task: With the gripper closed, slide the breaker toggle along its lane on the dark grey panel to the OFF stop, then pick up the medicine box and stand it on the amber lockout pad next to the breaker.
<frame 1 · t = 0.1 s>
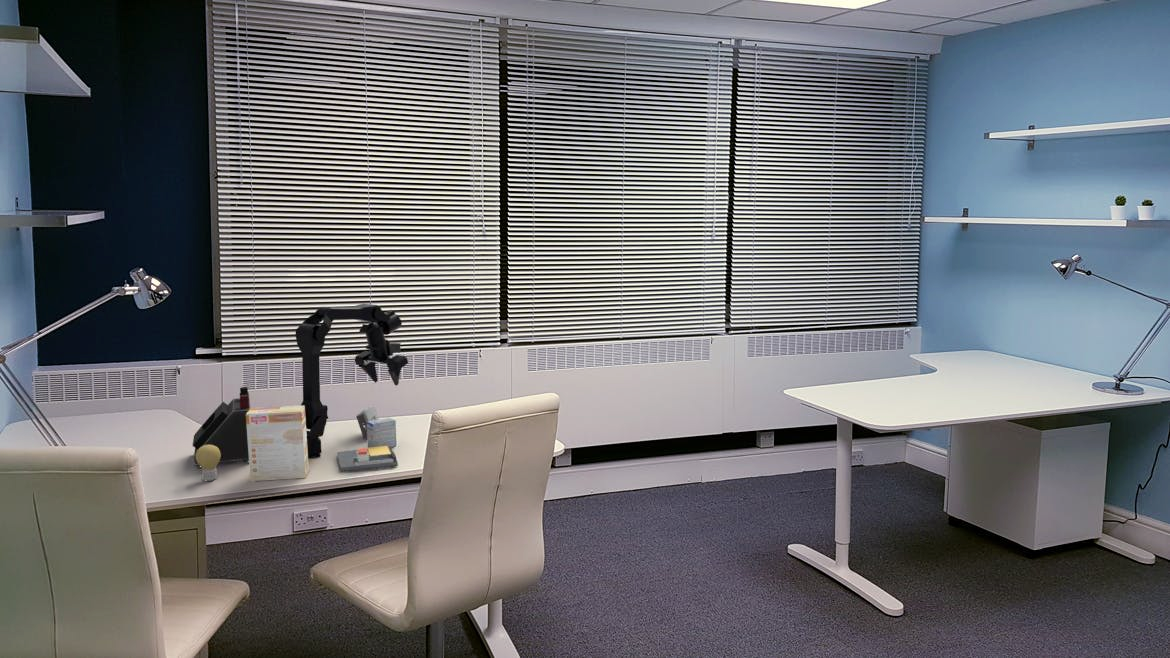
hand: (386, 383, 302), 15 cm above the table, tool pointing down, fingers open, 9 cm apart
breaker toggle: (362, 456, 263), point 3 cm above the table, slide at 0.0 cm
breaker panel: (366, 461, 269), on the table
coffeecake box: (280, 476, 256), on the table
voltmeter: (224, 459, 273), on the table
lockout pad: (379, 457, 273), resting on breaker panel
medicine box: (382, 448, 283), on the table
electrical switch: (370, 436, 297), on the table
light bulb: (210, 480, 253), on the table
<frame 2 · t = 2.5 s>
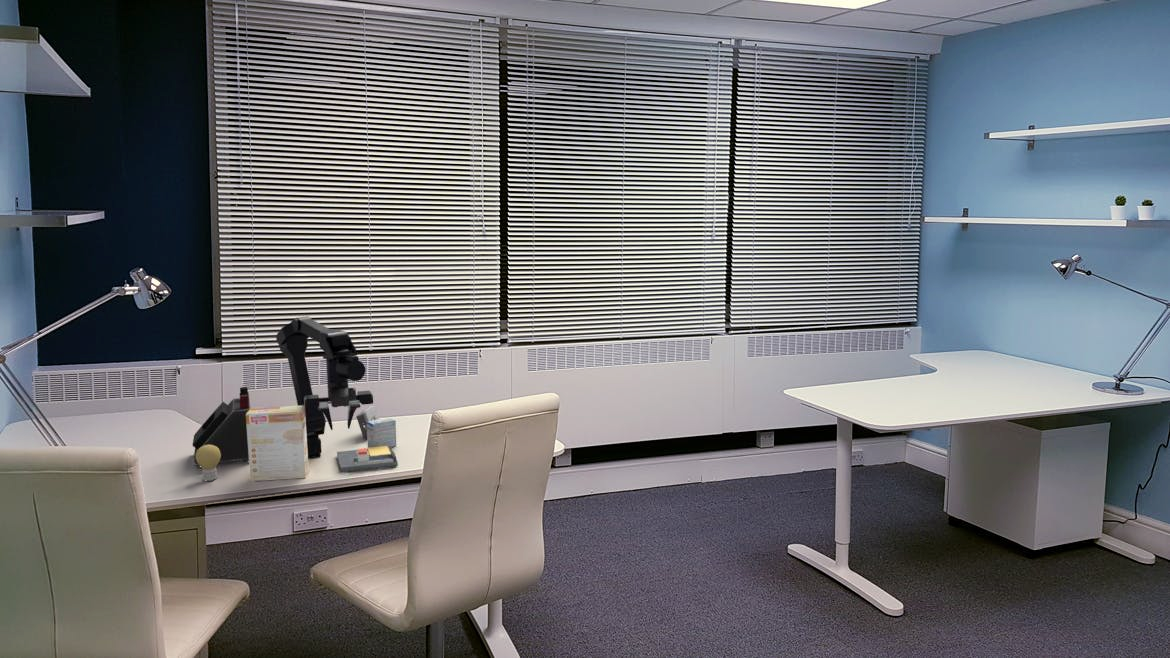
hand: (340, 429, 260), 12 cm above the table, tool pointing down, fingers open, 4 cm apart
nothing on the table moved.
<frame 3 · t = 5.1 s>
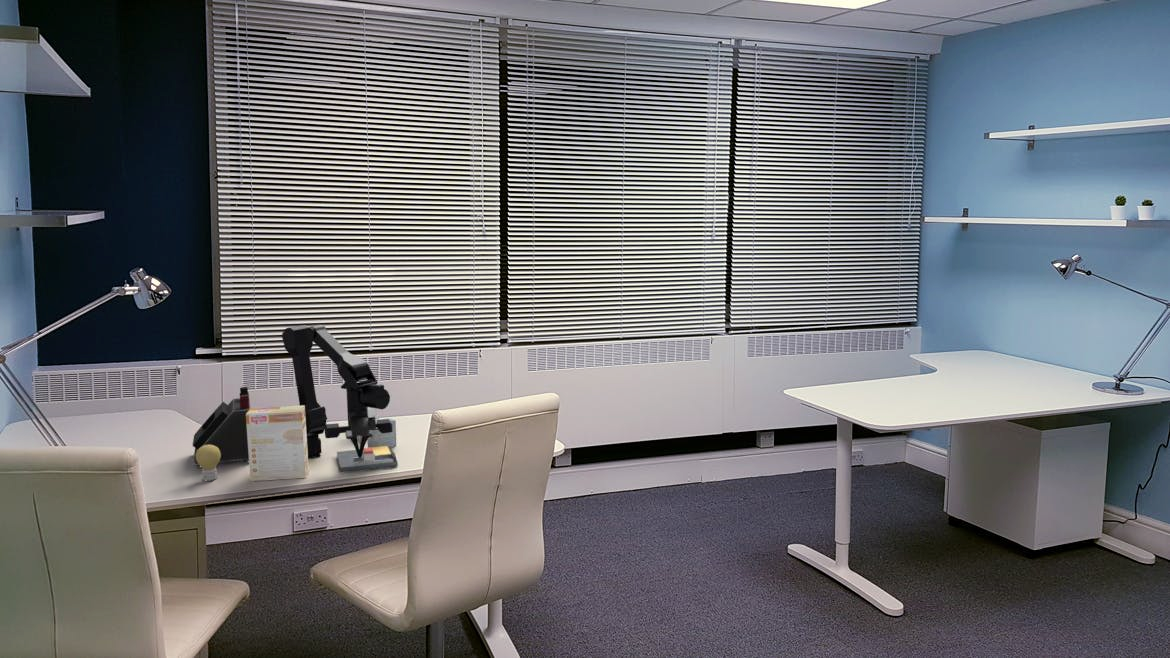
hand: (359, 457, 263), 3 cm above the table, tool pointing down, fingers closed
breaker toggle: (368, 455, 264), point 3 cm above the table, slide at 1.7 cm, touching gripper
everything else where it was.
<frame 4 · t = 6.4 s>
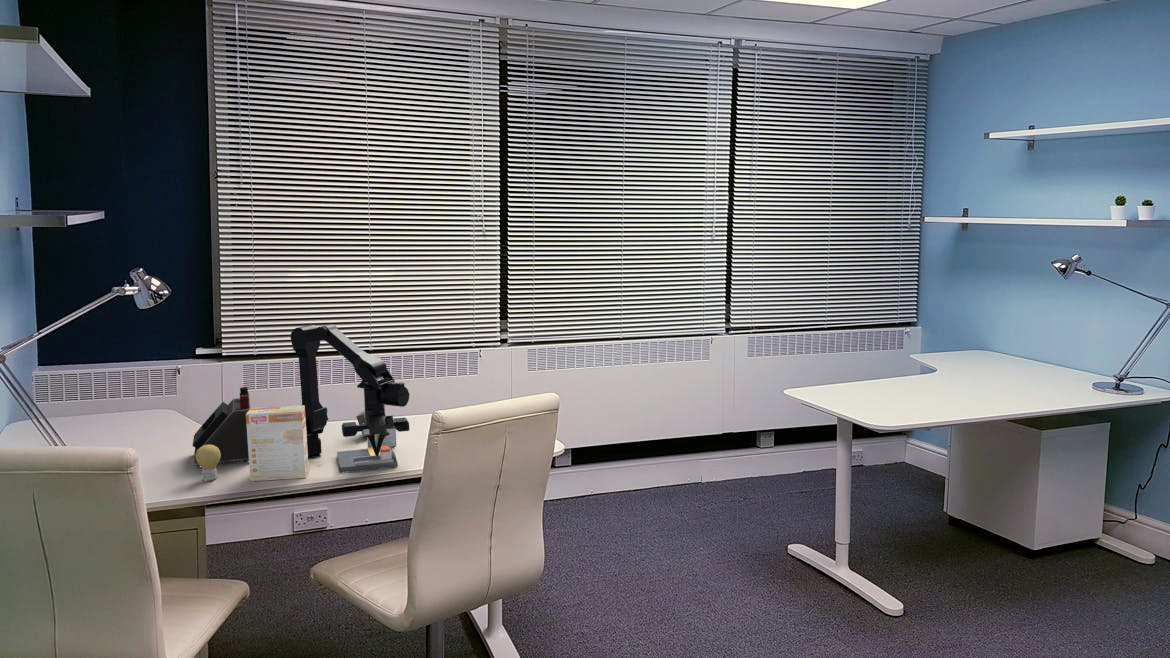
hand: (376, 455, 265), 3 cm above the table, tool pointing down, fingers closed
breaker toggle: (385, 453, 266), point 3 cm above the table, slide at 6.5 cm, touching gripper
everything else where it was.
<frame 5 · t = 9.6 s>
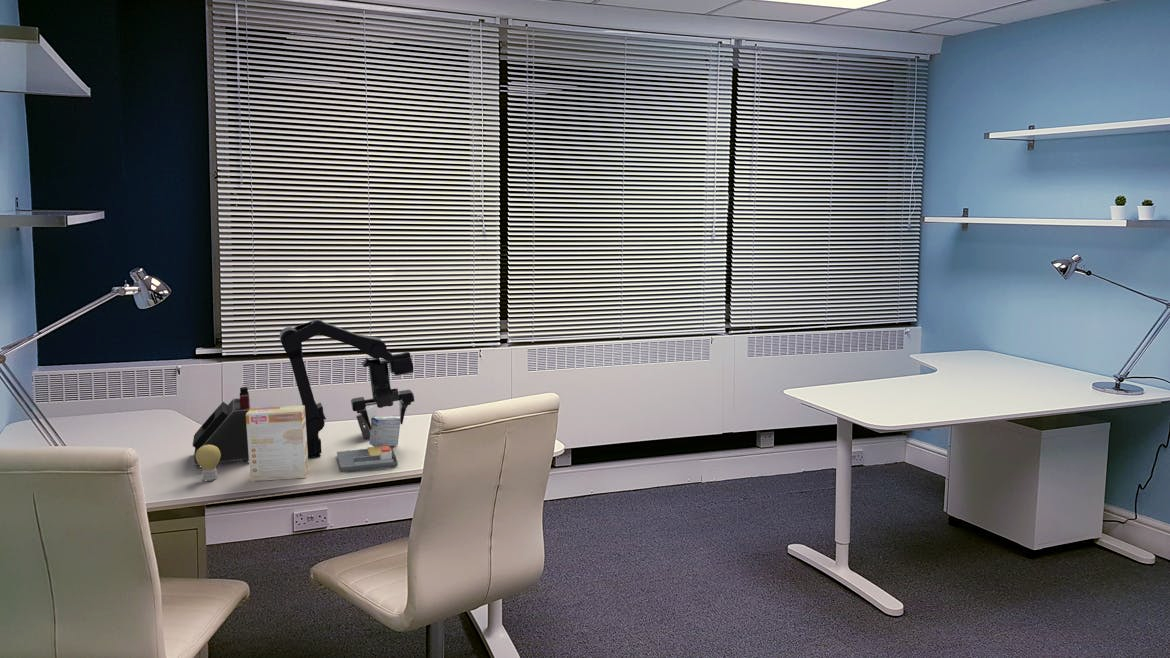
hand: (385, 426, 283), 6 cm above the table, tool pointing down, fingers closed on medicine box, 9 cm apart
breaker toggle: (385, 453, 266), point 3 cm above the table, slide at 6.5 cm
medicine box: (383, 445, 283), on the table, touching gripper
everything else where it was.
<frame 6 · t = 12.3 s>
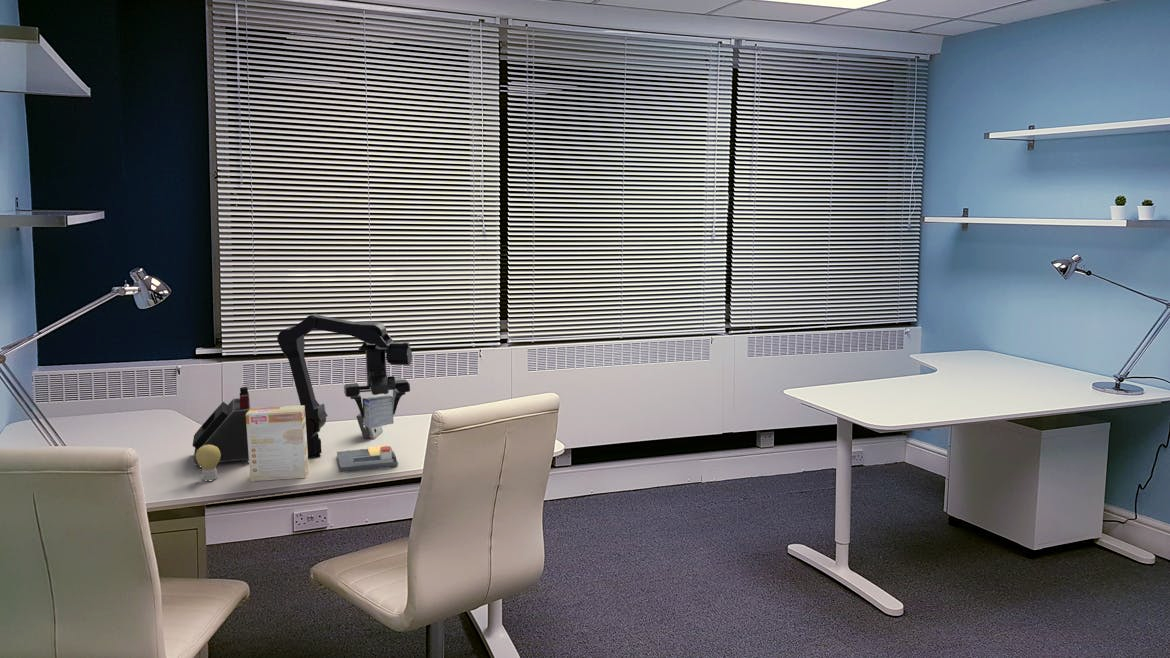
hand: (378, 415, 272), 12 cm above the table, tool pointing down, fingers closed on medicine box, 9 cm apart
medicine box: (378, 425, 273), point 9 cm above the table, touching gripper
everything else where it was.
when the fingers open (5 cm above the table, at t = 14.4 s): medicine box stays where it is, resting on lockout pad.
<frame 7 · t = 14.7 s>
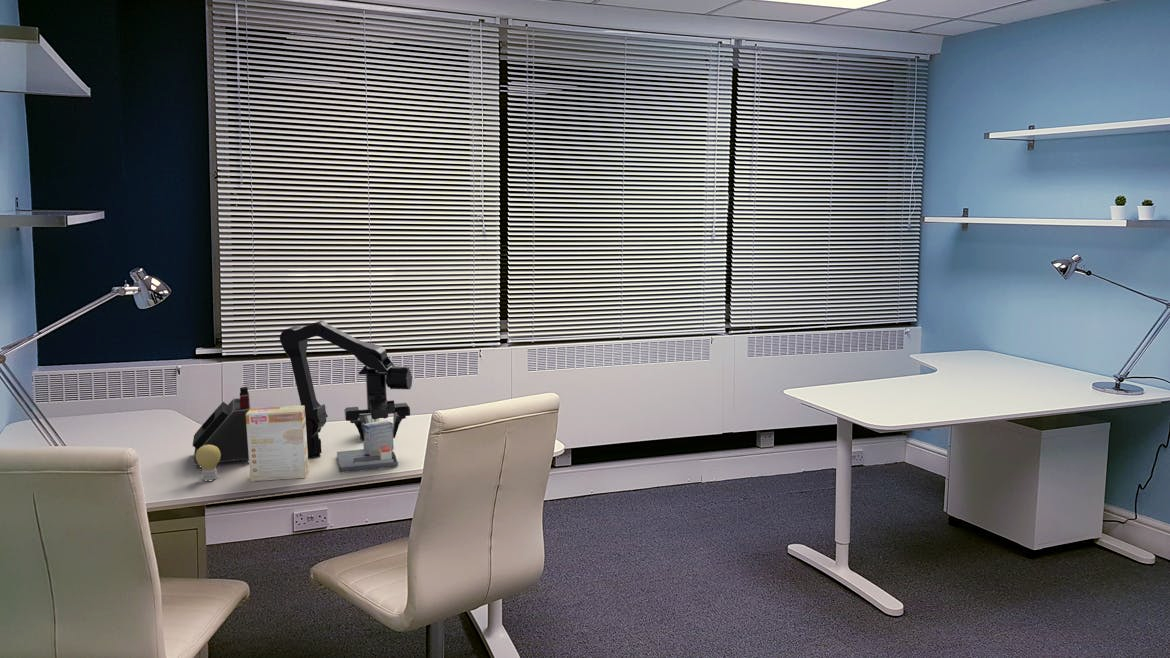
hand: (378, 439, 272), 5 cm above the table, tool pointing down, fingers open, 9 cm apart
medicine box: (378, 451, 273), point 2 cm above the table, touching gripper, lockout pad
everything else where it was.
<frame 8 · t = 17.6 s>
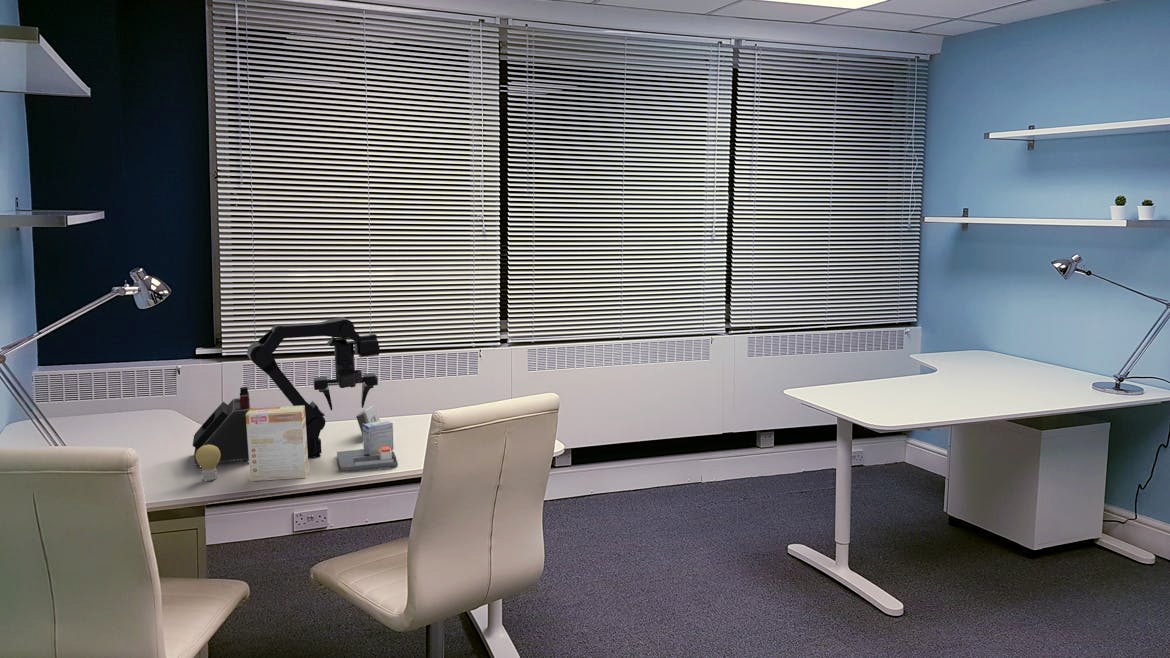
hand: (347, 408, 279), 13 cm above the table, tool pointing down, fingers open, 9 cm apart
medicine box: (378, 451, 273), point 2 cm above the table, touching lockout pad
everything else where it was.
at the end: breaker toggle slide at 6.5 cm; medicine box 0.1 cm from the lockout pad (horizontally); medicine box tilted 0° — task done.
